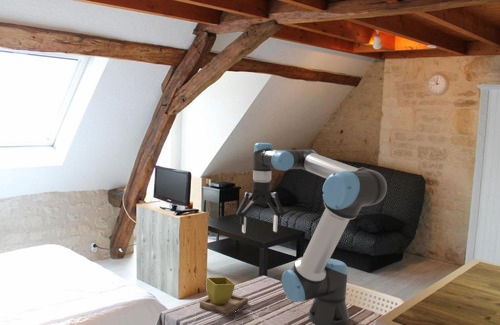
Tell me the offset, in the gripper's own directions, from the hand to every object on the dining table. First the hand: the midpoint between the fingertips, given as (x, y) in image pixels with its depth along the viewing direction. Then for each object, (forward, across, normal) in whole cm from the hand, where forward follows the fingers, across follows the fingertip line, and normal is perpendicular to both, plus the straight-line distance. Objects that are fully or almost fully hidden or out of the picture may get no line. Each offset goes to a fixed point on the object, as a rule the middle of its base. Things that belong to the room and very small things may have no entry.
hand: (259, 231), depth 192 cm
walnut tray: (+29, +15, +4) cm, 32 cm away
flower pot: (+28, +18, +4) cm, 33 cm away
